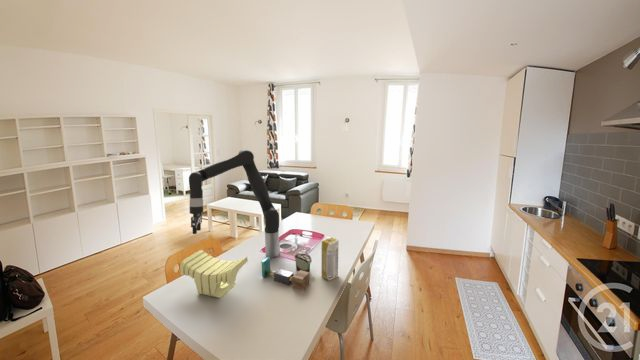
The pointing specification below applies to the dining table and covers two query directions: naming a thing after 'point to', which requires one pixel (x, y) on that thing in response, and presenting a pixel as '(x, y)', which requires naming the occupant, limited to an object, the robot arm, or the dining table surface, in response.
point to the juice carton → (329, 258)
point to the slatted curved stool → (211, 273)
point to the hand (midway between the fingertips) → (196, 232)
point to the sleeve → (283, 276)
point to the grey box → (267, 270)
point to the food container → (303, 262)
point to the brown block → (301, 280)
